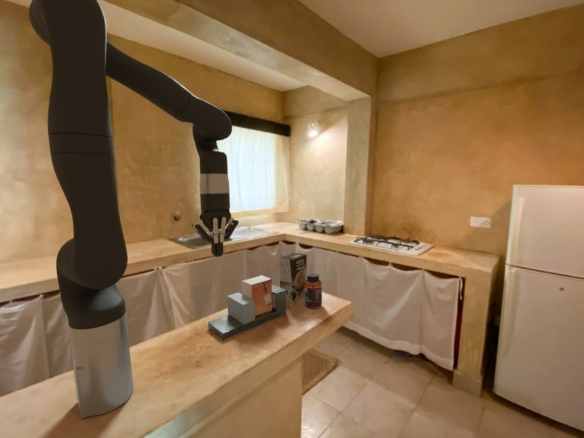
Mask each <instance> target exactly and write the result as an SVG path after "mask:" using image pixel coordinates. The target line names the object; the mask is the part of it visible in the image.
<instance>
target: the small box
mask: <svg viewBox="0 0 584 438" xmlns="http://www.w3.org/2000/svg"><path fill="white" fill-rule="evenodd" d="M272 280H273V279H272V278H270V277H267V276H265V275H263V274H262V275H259V276H255V277H251V278H247V279H243V280H241V294H242V295H244V296H246V297H248V298H250V299H252V300H254V301H255V316H257V315H260V314H263V313H265V312H268V311H271V310H272V285H273V282H272Z"/></svg>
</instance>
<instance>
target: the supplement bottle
mask: <svg viewBox="0 0 584 438" xmlns="http://www.w3.org/2000/svg"><path fill="white" fill-rule="evenodd" d="M322 283H323V282H322V280H320V275H319V273H317V272H310V273H307V280H306V281H305V297H304V306H305V307H306V308H307V309H311V310H313V309H314V310H316V309H319V308H322V305H323V286H322V285H323V284H322Z"/></svg>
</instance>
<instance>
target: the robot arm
mask: <svg viewBox="0 0 584 438" xmlns="http://www.w3.org/2000/svg"><path fill="white" fill-rule="evenodd" d="M28 19H29V22H30V25H31V27H32V29H33V30H34V32H35V33H36V35H37V36H38V37H39V38H40V39H41V40H42V41H43V42H44V43H45V44H47V46H49V47H50V49H49V50H50V54H51V55H50V56H51V63H52V74H51V75H52V76H51V85H50V90H49V91H50V94H49V100H48V107H47V108H48V110H47V136H48V143H49V152H50V158H51V164H52V168H53V170H54V174H55V176H56V179H57V182H58V184H59V186H60V189H61V190H62V192H63V195H64V196H65V198H66V201H67V204H68V207H69V209H70V214H71V218H72V227H73V228H72V232H73V237H72V238H70V239H68V240H67V241H66V242H64V244H63V245H61V247H60V249H59V251H58V253H57V255H56V260H55V261H56V262H55V267H56V276H57V282H58V283H57V284H58V288H59V295H60V301H61V306H62V309H63V311H64V313H65V315H66V316H67V317H66V318H67V323H68V331H69V338H70V344H71V353H72V359H71V362H72V368H73V377H74V384H75V393H76V400H77V401H78V402H77V406H78V411H79V416H80V420H83V419H86V418H88V417H94V416H95V417H96V416H99V415H103V414H107V413H109V412H111V411H113V410H116V409H117V408H120V406H122V405H123V404H124V403H126V402H127V401H128V400H129V399H130V398H131V396H132V395H133V392H134V378H133V370H132V369H133V368H132V361H131V359H132V358H131V349H130V341H129V328H128V319H127V310H126V308H127V307H126V300H125V298H124V297H123V295H122V294H121V292H120V291H119V290H118V287H117V285H116V284H117V283H119V281H120V280H121V279H122V278H123V276H124V274H125V272H126V270H127V267H128V261H129V257H128V250H127V249H128V248H127V245H126V240H125V235H124V231H123V226H122V221H121V216H120V209H119V197H118V195H119V194H118V183H117V177H116V176H117V175H116V159H115V147H114V146H115V145H114V135H113V128H112V120H111V110H110V109H111V108H110V102H109V93H108V84H107V77H108V78H109V79H112V80H113V81H115V82H118V83H119V84H120V85H123V86H124V87H126V88H128V89H130V91H133V92H135V94H138V95H140V97H142V98H144V99H145V100H147V101H149V102H150V103H152V104H153V105H155V106H156V107H158V108H159V109H160V110H162V111H164V112H165V113H166V114H168V115H169V116H170V117H172V118H174V119H175V120H177V121H179V122H181V123H190V124H192V129H191V130H192V132H191V133H192V137H193V143H194V145H195V148H196V152H197V154H198V158H199V200H200V203H199V205H200V211H201V212H200V215H199V220H197V221H196V223H192V224H191V227H192V229H193V230H194V231H195V232H196V234H198V236H199V237H201V239H202V240H203V241H205V242H208V243H210V247H211V249H210V251H211V255H213V257H215V258H219V257H222V256H223V254H224V242H225V241H226V240H229V239H231V236H232V234H234V231H235V230H236V229H237V227H238V224H239V220H238V219H235V218H233V217H232V213H231V212H230V211H231V210H230V209H231V201H230V200H231V197H230V189H231V188H230V181H229V169H228V167H229V166H228V156H227V154H226V153H225V152H224V151H221V150H220V149H219V147H218V143H217V141H218V142H219V141H224V140H225V139H227V138H229V137H230V136H231V134H232V131H233V124H232V120H231V118H230V117H229V116H228V115H227V114H226V112H225V111H223V110H222V109H220V108H219V107H218V106H215V105H214V104H212V103H210V102H209V101H207V100H204V99H202V98H200V97H197V96H196V95H194V94H193V93H192V92H191V91H190V90H189V89H188V88H186V87H185V86H183V85H182V84H181V83H180V82H178V80H176V79H175V78H173V77H171V76H170V75H169V74H168V73H165V72H163V71H162V70H159V69H157V68H155V67H154V66H151V65H149V64H146V63H145V62H142V61H140V60H138V59H136V58H135V57H132V56H131V55H129V54H127V53H125V52H123V51H122V50H120V49H119V48H118V47H116V46H115V45H114V44H113V43H112V42H109V40H108V39H107V37H108V36H107V33H108V32H107V29H108V28H107V19H106V15H105V13H104V10H103V8H102V5H101V4H100V2H99V1H98V0H31V2H30V4H29V8H28ZM204 227H205V228H206V229H207V231H206V230H205V229H204Z"/></svg>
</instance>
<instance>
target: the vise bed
mask: <svg viewBox="0 0 584 438" xmlns="http://www.w3.org/2000/svg"><path fill="white" fill-rule="evenodd" d="M285 314H287V301H286V290H285V289H282V288H280V286H277V285H275V284H272V310H271V311H268V312H265V313H263V314H260V315H257V316H255V320H254V321H251V322H249V323H246V324H242V323H241V322H239V321H238V320H236V319H235V318H233V317H232V316H230V315H228V314H226V315H223V316H221V317H217V318H215V319H212V320H209V321H208V322H207V323H208V324H207V325H208V329H209V330H210V331H211V332H213V333H214V334H215V336H218V337H219V338H220V339H221V340H222V341H225V340H227V339H229V338H232V337H234V336H237V335H239V334H241V333H244V332H246V331H248V330H250V329H253V328H255V327H258V326H260V325H263V324H264V323H267V322H269V321H271V320H273V319H276V318H279V317H281V316H283V315H285Z"/></svg>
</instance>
